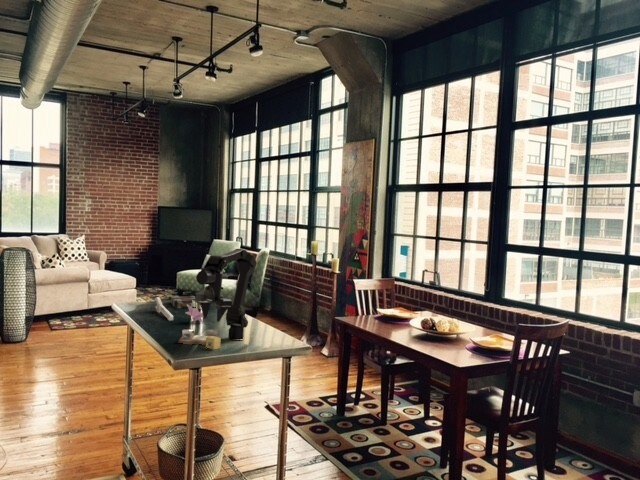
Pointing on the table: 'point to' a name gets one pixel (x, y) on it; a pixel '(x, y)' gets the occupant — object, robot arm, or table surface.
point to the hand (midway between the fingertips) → (211, 320)
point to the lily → (195, 314)
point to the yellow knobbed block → (213, 342)
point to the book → (181, 301)
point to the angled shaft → (188, 333)
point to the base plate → (198, 338)
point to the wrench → (163, 309)
